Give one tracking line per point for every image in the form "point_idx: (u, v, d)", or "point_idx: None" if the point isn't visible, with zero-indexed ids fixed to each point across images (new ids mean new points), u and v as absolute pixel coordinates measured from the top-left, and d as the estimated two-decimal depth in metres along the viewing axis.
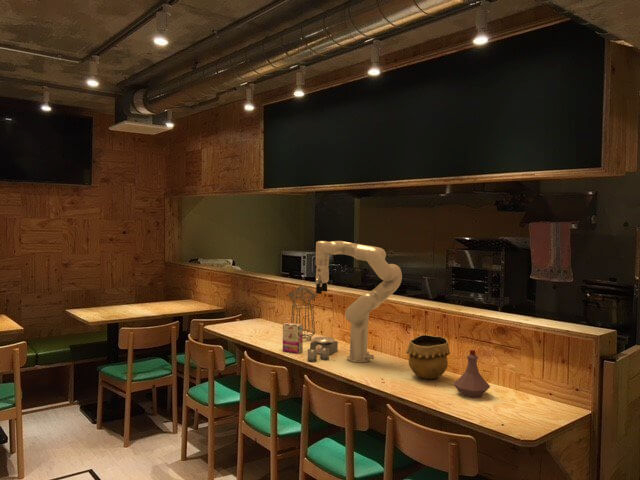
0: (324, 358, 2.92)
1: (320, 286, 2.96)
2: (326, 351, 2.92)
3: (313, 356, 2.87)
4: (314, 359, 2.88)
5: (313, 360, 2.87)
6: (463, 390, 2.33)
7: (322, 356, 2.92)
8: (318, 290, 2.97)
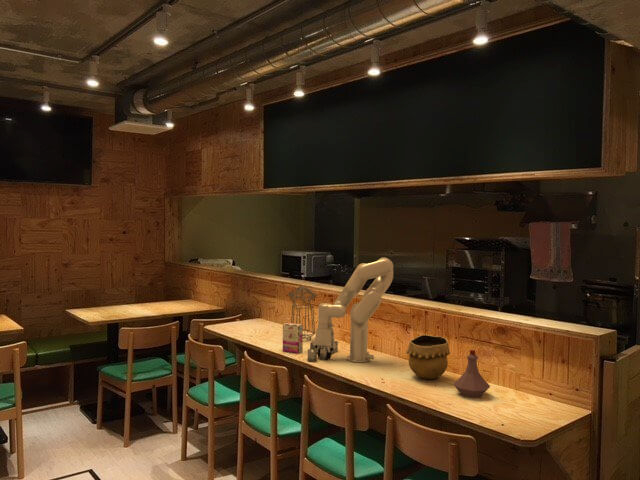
0: (324, 358, 2.92)
1: None
2: (326, 351, 2.92)
3: (313, 356, 2.87)
4: (314, 359, 2.88)
5: (313, 360, 2.87)
6: (463, 390, 2.33)
7: (322, 356, 2.92)
8: (330, 355, 2.92)
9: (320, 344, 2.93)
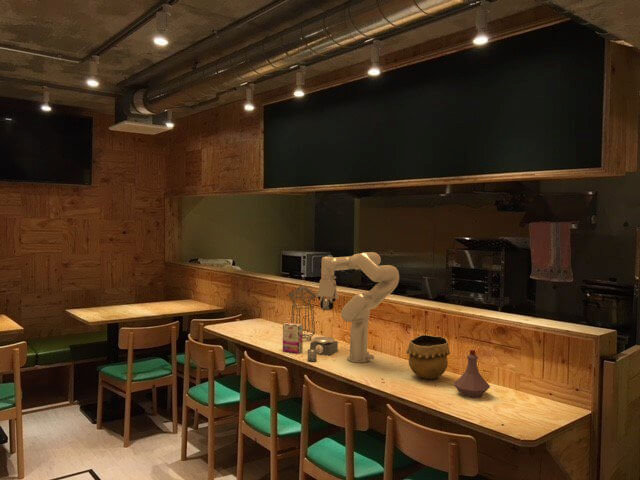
0: (327, 308, 3.08)
1: (333, 302, 3.10)
2: (328, 301, 3.08)
3: (313, 356, 2.87)
4: (314, 359, 2.88)
5: (313, 360, 2.87)
6: (463, 390, 2.33)
7: (325, 306, 3.08)
8: (332, 306, 3.09)
9: (323, 295, 3.09)
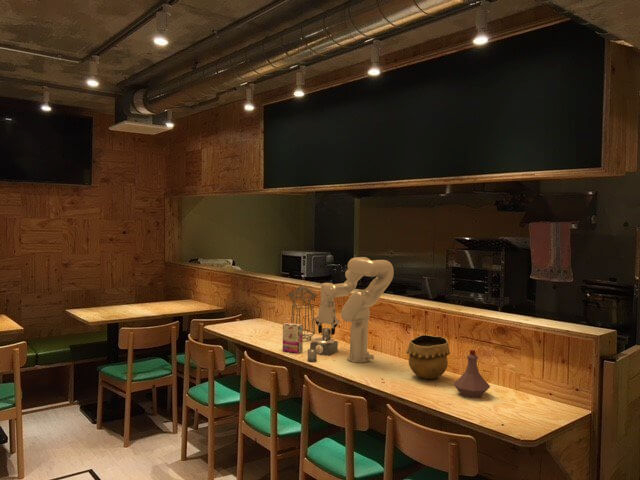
0: (326, 338, 3.09)
1: None
2: (328, 331, 3.09)
3: (313, 356, 2.87)
4: (314, 359, 2.88)
5: (313, 360, 2.87)
6: (463, 390, 2.33)
7: (324, 336, 3.09)
8: (334, 331, 3.09)
9: (322, 321, 3.10)
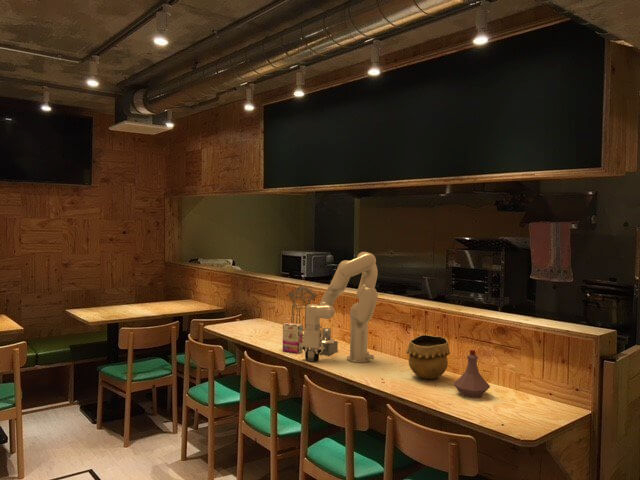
0: (326, 338, 3.09)
1: None
2: (328, 331, 3.09)
3: (313, 356, 2.87)
4: (314, 359, 2.88)
5: (313, 360, 2.87)
6: (463, 390, 2.33)
7: (324, 336, 3.09)
8: (318, 357, 2.88)
9: (308, 346, 2.88)
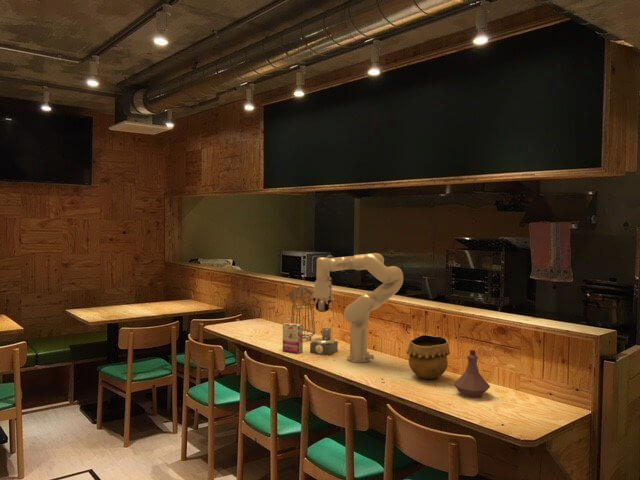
0: (326, 338, 3.09)
1: (329, 303, 3.05)
2: (328, 331, 3.09)
3: (323, 306, 3.03)
4: (324, 309, 3.03)
5: (323, 310, 3.03)
6: (463, 390, 2.33)
7: (324, 336, 3.09)
8: (328, 307, 3.04)
9: (318, 296, 3.04)
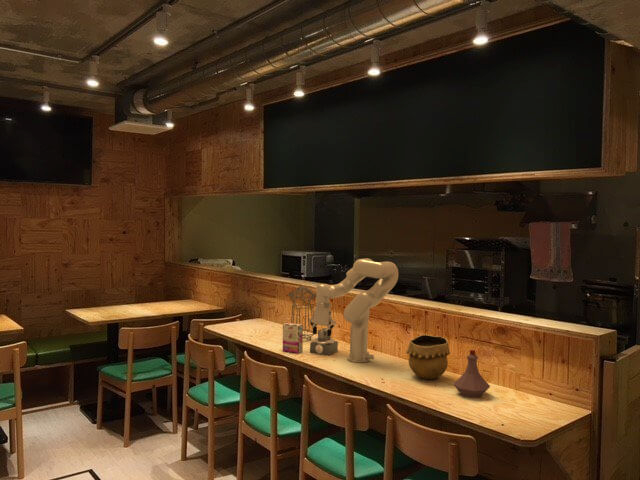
0: (326, 338, 3.09)
1: None
2: None
3: (323, 336, 3.04)
4: (324, 339, 3.04)
5: (323, 340, 3.04)
6: (463, 390, 2.33)
7: None
8: (330, 332, 3.04)
9: (318, 323, 3.05)
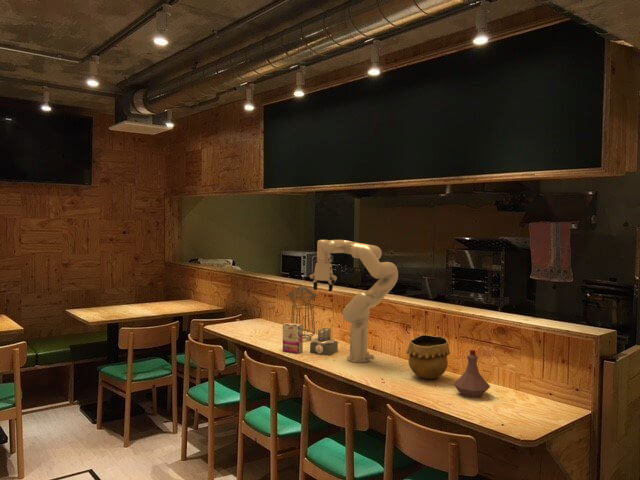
0: (326, 338, 3.09)
1: (333, 283, 3.06)
2: (328, 331, 3.09)
3: (323, 336, 3.04)
4: (324, 339, 3.04)
5: (323, 340, 3.04)
6: (463, 390, 2.33)
7: None
8: (331, 287, 3.05)
9: (319, 278, 3.06)
